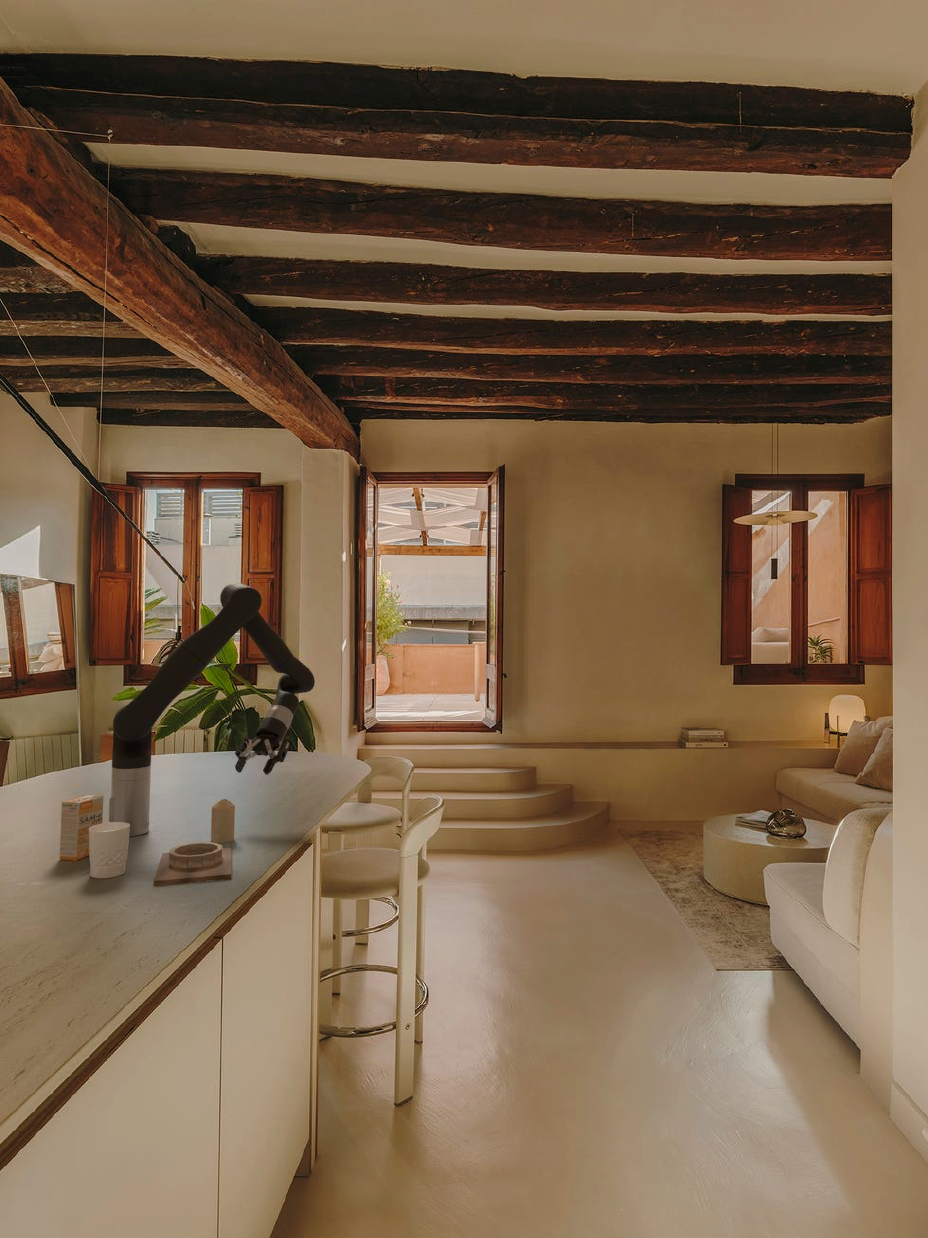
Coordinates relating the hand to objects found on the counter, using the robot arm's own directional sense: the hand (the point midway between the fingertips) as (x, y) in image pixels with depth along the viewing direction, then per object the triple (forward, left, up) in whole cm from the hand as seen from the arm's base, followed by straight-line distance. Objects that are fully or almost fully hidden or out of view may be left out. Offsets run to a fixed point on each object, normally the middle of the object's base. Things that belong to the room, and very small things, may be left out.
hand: (251, 771), depth 188 cm
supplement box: (-38, -14, -15) cm, 43 cm away
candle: (-7, -10, -15) cm, 20 cm away
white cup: (-30, -30, -15) cm, 45 cm away
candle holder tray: (-12, -31, -15) cm, 37 cm away
